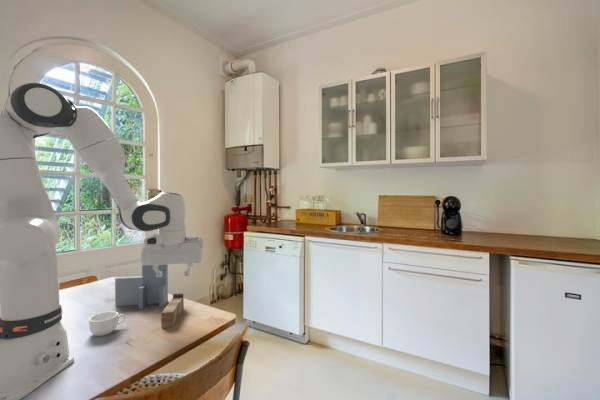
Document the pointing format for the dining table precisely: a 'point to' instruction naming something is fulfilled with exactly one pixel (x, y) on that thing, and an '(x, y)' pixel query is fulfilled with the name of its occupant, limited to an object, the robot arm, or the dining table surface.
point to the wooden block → (172, 311)
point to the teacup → (104, 322)
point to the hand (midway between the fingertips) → (173, 276)
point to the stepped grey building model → (143, 288)
